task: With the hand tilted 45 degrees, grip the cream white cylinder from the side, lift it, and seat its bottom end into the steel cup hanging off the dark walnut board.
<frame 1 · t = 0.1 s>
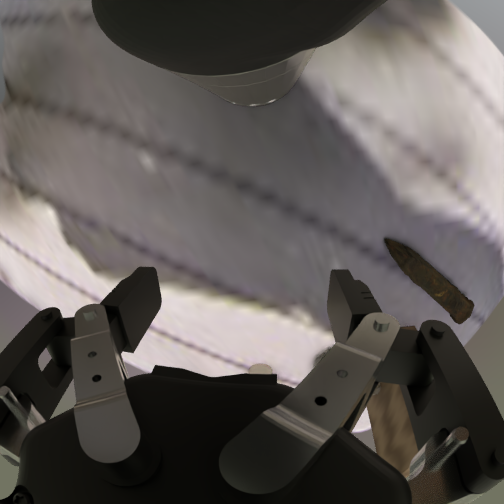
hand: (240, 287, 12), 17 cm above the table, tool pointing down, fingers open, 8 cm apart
hand tool: (424, 277, 31), on the table
cream white cylinder: (260, 371, 39), on the table
walnut board: (375, 357, 37), on the table
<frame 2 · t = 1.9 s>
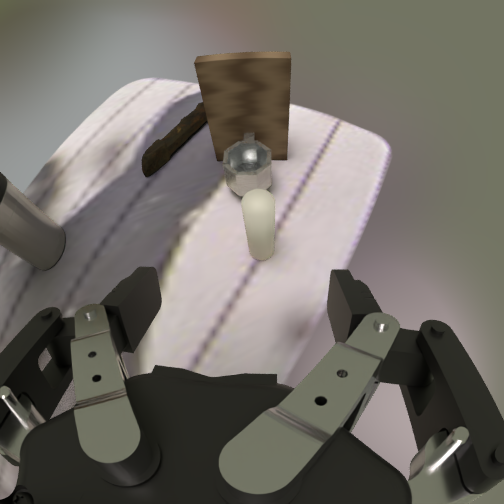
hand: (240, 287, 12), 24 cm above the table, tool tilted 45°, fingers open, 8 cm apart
hand tool: (182, 145, 49), on the table
cream white cylinder: (261, 249, 40), on the table
walnut board: (251, 155, 47), on the table
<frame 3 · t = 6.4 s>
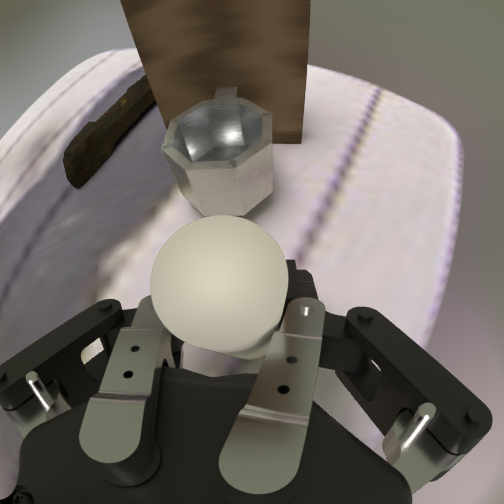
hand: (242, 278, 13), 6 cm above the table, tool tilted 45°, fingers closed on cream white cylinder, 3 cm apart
hand tool: (132, 128, 28), on the table
cream white cylinder: (250, 333, 18), on the table, touching gripper
walnut board: (236, 136, 25), on the table
when the fingers open (10 cm above the table, at t = 12.5 s): cream white cylinder drops 1 cm, resting on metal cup.
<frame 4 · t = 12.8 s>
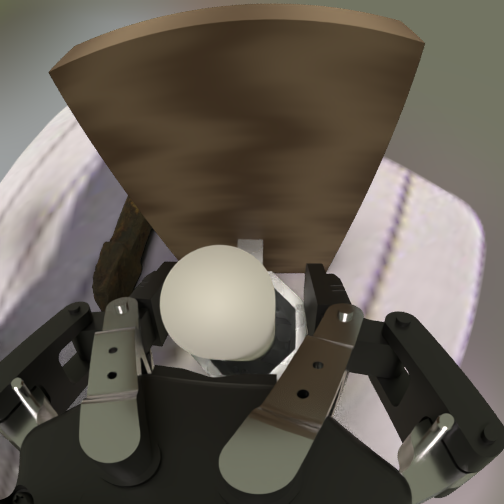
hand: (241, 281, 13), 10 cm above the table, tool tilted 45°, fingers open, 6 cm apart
hand tool: (150, 230, 27), on the table
cream white cylinder: (250, 337, 19), point 3 cm above the table, touching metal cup
walnut board: (255, 261, 24), on the table
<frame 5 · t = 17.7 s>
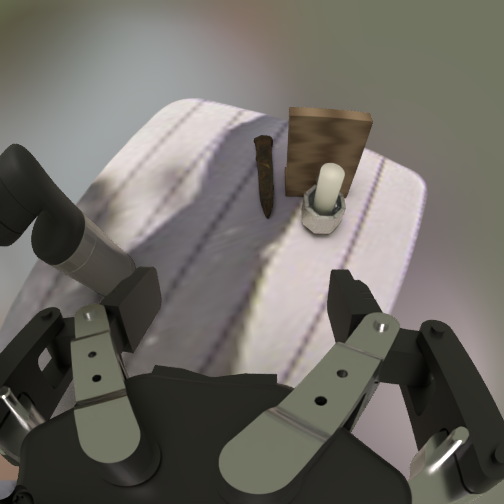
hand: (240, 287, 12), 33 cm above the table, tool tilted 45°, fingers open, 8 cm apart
hand tool: (268, 179, 55), on the table
cream white cylinder: (320, 215, 48), point 3 cm above the table, touching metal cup
walnut board: (316, 192, 53), on the table
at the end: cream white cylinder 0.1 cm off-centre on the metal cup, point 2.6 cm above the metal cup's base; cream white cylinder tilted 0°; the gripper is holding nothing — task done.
